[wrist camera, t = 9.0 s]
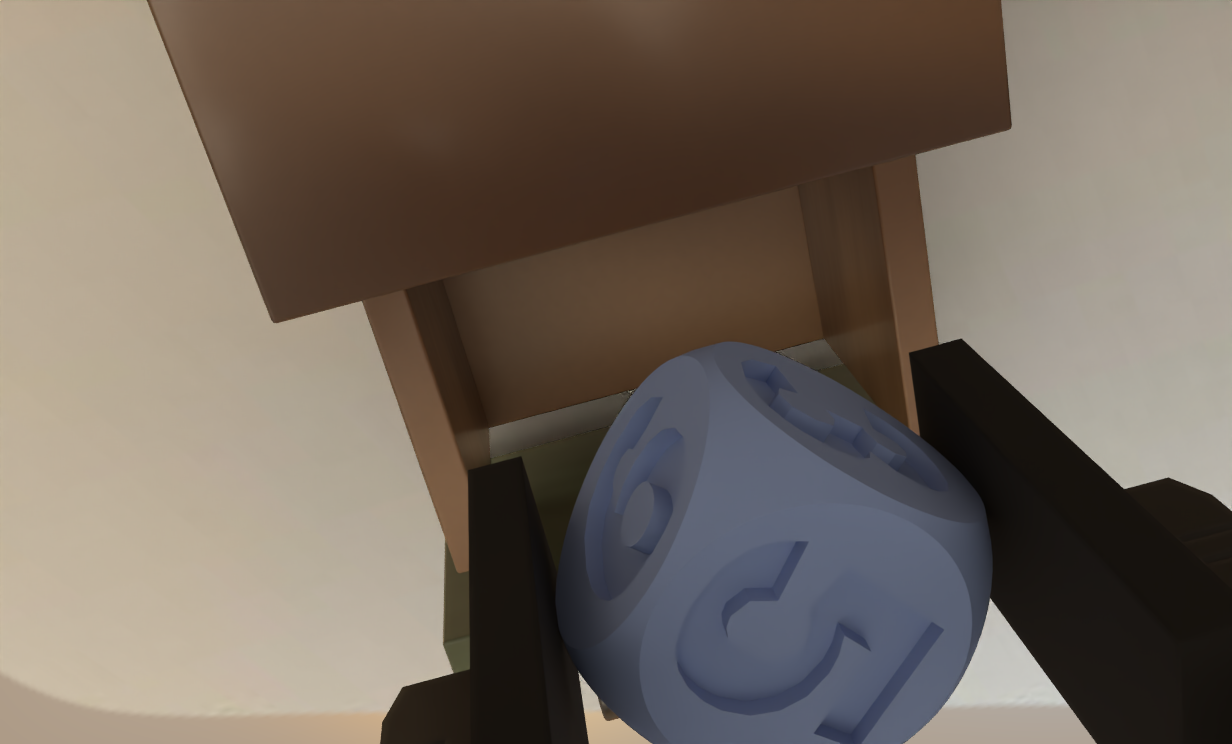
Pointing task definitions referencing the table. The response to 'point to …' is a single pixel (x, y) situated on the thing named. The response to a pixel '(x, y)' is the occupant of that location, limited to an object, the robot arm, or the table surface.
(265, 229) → the cabinet
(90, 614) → the table surface
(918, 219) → the drawer
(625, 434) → the decorative dice
